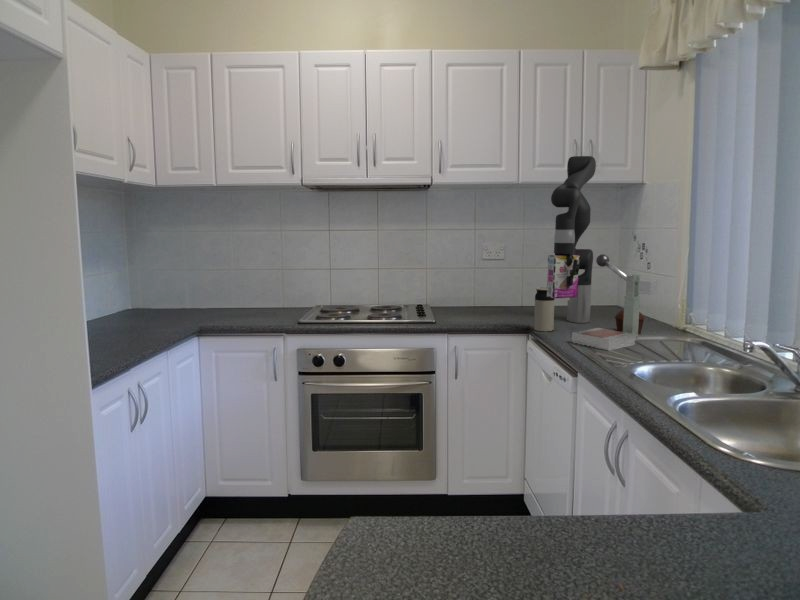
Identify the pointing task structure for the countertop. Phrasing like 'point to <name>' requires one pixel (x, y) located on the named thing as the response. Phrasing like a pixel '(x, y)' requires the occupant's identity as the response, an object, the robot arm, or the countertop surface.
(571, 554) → the countertop surface
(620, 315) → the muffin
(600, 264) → the press lever
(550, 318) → the travel mug
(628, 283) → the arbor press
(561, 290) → the candy bar box
